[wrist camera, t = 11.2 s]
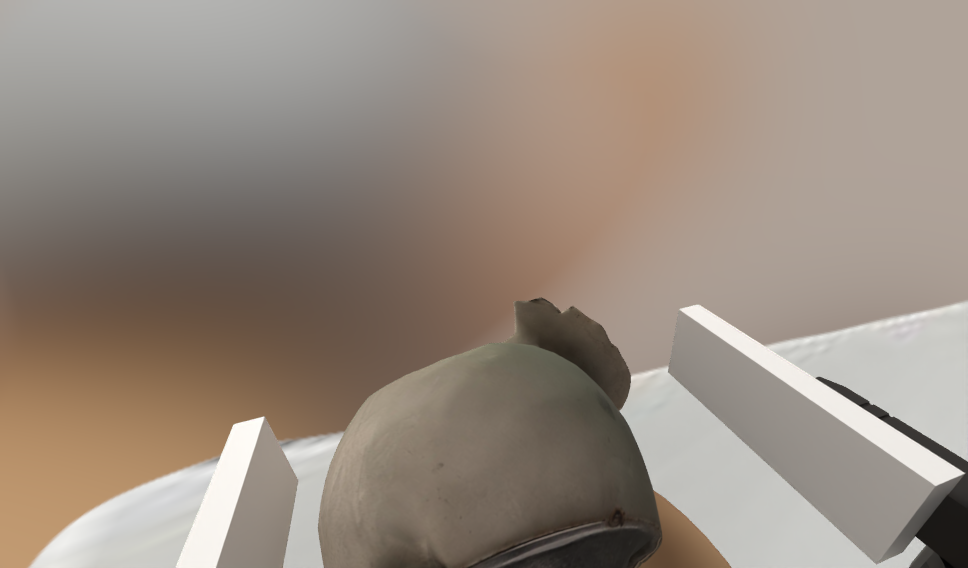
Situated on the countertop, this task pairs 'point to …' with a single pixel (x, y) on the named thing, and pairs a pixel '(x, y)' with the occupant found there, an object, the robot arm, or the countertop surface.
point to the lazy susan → (682, 542)
